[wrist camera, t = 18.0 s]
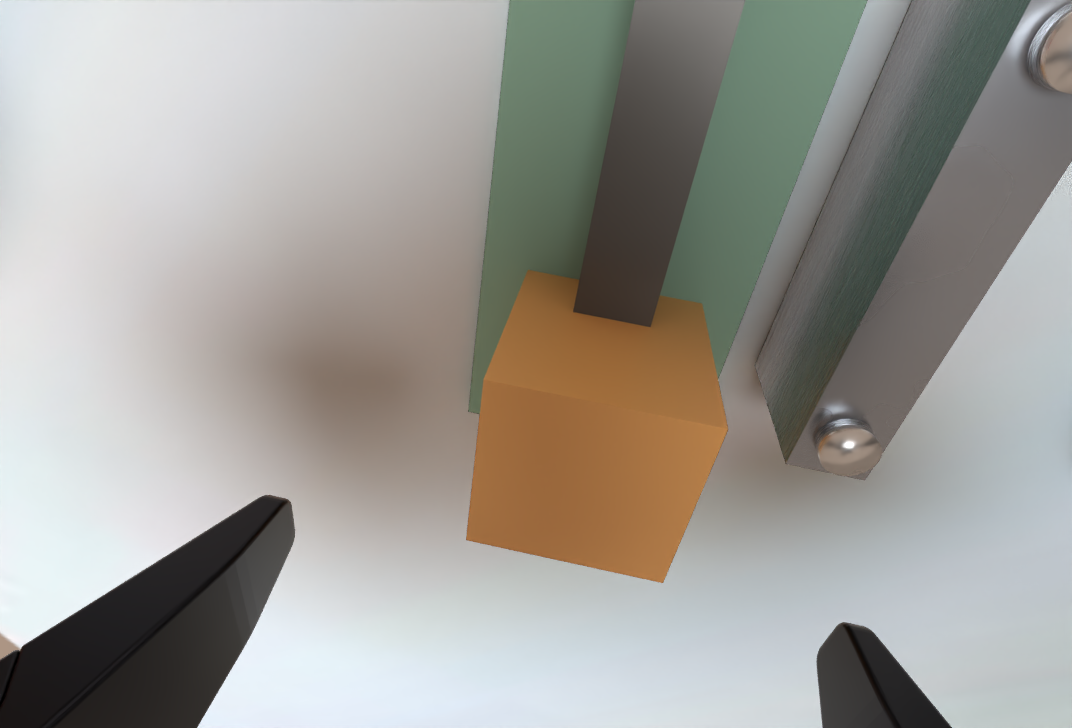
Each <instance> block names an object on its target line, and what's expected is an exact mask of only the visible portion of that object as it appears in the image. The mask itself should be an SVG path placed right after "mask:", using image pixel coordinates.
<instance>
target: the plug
mask: <svg viewBox="0 0 1072 728" xmlns="http://www.w3.org/2000/svg"><path fill="white" fill-rule="evenodd" d="M744 3H745V0H635V4H634V9H633V14H632V19H631V24H630V29H629V34H628V39H627V44H626V49H625V54H624V59H623V64H622V69H621V74H620V79H619V84H618V89H617V94H616V99H615V104H614V109H613V114H612V119H611V124H610V129H609V134H608V139H607V144H606V149H605V154H604V159H603V164H602V169H601V174H600V179H599V184H598V189H597V194H596V199H595V204H594V209H593V214H592V219H591V224H590V229H589V234H588V239H587V244H586V249H585V254H584V259H583V264H582V269H581V274H580V279H579V280H578V279H573V278H568V277H563V276H557V275H552V274H547V273H542V272H537V271H532V270H528V271H527V273H526V276H525V278H524V281H523V283H522V286H521V288H520V291H519V293H518V296H517V298H516V301H515V303H514V305H513V308H512V310H511V313H510V315H509V318H508V320H507V323H506V325H505V328H504V330H503V333H502V335H501V338H500V340H499V342H498V345H497V347H496V350H495V352H494V355H493V357H492V360H491V362H490V365H489V367H488V370H487V372H486V375H485V377H484V380H483V389H482V398H481V407H480V417H479V426H478V435H477V444H476V453H475V462H474V472H473V481H472V490H471V499H470V508H469V518H468V527H467V536H466V540H468V541H473V542H477V543H482V544H487V545H491V546H496V547H500V548H505V549H509V550H514V551H519V552H523V553H528V554H532V555H537V556H542V557H546V558H551V559H555V560H560V561H564V562H569V563H574V564H578V565H583V566H587V567H592V568H597V569H601V570H606V571H610V572H615V573H619V574H624V575H629V576H633V577H638V578H642V579H647V580H652V581H656V582H661V583H663V582H664V579H665V577H666V574H667V572H668V570H669V567H670V565H671V563H672V560H673V558H674V556H675V553H676V551H677V549H678V546H679V544H680V542H681V539H682V537H683V535H684V532H685V530H686V527H687V525H688V523H689V520H690V518H691V516H692V513H693V511H694V509H695V506H696V504H697V502H698V499H699V497H700V495H701V492H702V490H703V488H704V485H705V483H706V480H707V478H708V476H709V473H710V471H711V469H712V466H713V464H714V462H715V459H716V457H717V455H718V452H719V450H720V448H721V445H722V443H723V441H724V438H725V436H726V434H727V431H728V425H727V421H726V416H725V411H724V406H723V401H722V397H721V392H720V387H719V382H718V377H717V373H716V368H715V363H714V358H713V353H712V348H711V344H710V339H709V334H708V329H707V324H706V320H705V315H704V310H703V305H702V303H697V302H692V301H687V300H681V299H676V298H671V297H666V296H661V295H660V293H661V290H662V286H663V283H664V279H665V276H666V272H667V269H668V266H669V262H670V259H671V255H672V252H673V248H674V245H675V241H676V238H677V234H678V231H679V228H680V224H681V221H682V217H683V214H684V210H685V207H686V203H687V200H688V197H689V193H690V190H691V186H692V183H693V179H694V176H695V172H696V169H697V165H698V162H699V159H700V155H701V152H702V148H703V145H704V141H705V138H706V134H707V131H708V128H709V124H710V121H711V117H712V114H713V110H714V107H715V103H716V100H717V97H718V93H719V90H720V86H721V83H722V79H723V76H724V72H725V69H726V65H727V62H728V59H729V55H730V52H731V48H732V45H733V41H734V38H735V34H736V31H737V28H738V24H739V21H740V17H741V14H742V10H743V7H744Z"/></svg>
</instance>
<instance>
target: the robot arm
mask: <svg viewBox="0 0 1072 728" xmlns="http://www.w3.org/2000/svg"><path fill="white" fill-rule="evenodd" d="M294 538H295V527H294V519H293V512H292V505H291V502H290V501H289V500H288V499H285V498H281V497H276V496H272V495H265V496H262V497H260V498H258V499H256V500H255V501H253V502H252V503H250V504H248V505H247V506H245V507H244V508H242V509H240V510H239V511H237V512H236V513H234V514H232V515H231V516H229V517H228V518H226V519H224V520H223V521H221V522H220V523H218V524H216V525H215V526H213V527H212V528H210V529H208V530H207V531H205V532H204V533H202V534H200V535H199V536H197V537H196V538H194V539H192V540H191V541H189V542H188V543H186V544H184V545H183V546H181V547H180V548H178V549H176V550H175V551H173V552H172V553H170V554H169V555H167V556H165V557H164V558H162V559H161V560H159V561H157V562H156V563H154V564H153V565H151V566H149V567H148V568H146V569H145V570H143V571H141V572H140V573H138V574H137V575H135V576H133V577H132V578H130V579H129V580H127V581H125V582H124V583H122V584H121V585H119V586H117V587H116V588H114V589H113V590H111V591H109V592H108V593H106V594H105V595H103V596H101V597H100V598H98V599H97V600H95V601H93V602H92V603H90V604H89V605H87V606H85V607H84V608H82V609H81V610H79V611H77V612H76V613H74V614H73V615H71V616H69V617H68V618H66V619H65V620H63V621H61V622H60V623H58V624H57V625H55V626H53V627H52V628H50V629H49V630H47V631H46V632H44V633H42V634H41V635H39V636H38V637H36V638H34V639H33V640H31V641H30V642H28V643H26V644H25V645H23V646H22V648H21V650H20V651H19V650H15V651H13V652H12V653H10V654H8V655H7V656H5V657H4V658H2V659H0V728H197V727H198V725H199V723H200V722H201V720H202V718H203V717H204V715H205V713H206V711H207V710H208V708H209V706H210V705H211V703H212V701H213V700H214V698H215V696H216V694H217V693H218V691H219V689H220V688H221V686H222V684H223V683H224V681H225V679H226V677H227V676H228V674H229V672H230V671H231V669H232V667H233V665H234V664H235V662H236V660H237V659H238V657H239V655H240V654H241V652H242V650H243V648H244V647H245V645H246V643H247V641H248V639H249V638H250V636H251V634H252V632H253V630H254V628H255V626H256V624H257V622H258V620H259V617H260V615H261V613H262V611H263V609H264V606H265V604H266V602H267V600H268V598H269V595H270V593H271V591H272V589H273V587H274V585H275V582H276V580H277V578H278V576H279V574H280V571H281V569H282V567H283V565H284V563H285V560H286V558H287V556H288V554H289V552H290V549H291V547H292V545H293V542H294ZM817 674H818V684H819V695H820V705H821V716H822V727H823V728H952V727H951V726H950V725H949V723H948V722H947V721H946V720H945V719H944V717H943V716H942V715H941V714H940V713H939V711H938V710H937V709H936V708H935V706H934V705H933V704H932V703H931V702H930V700H929V699H928V698H927V697H926V696H925V694H924V693H923V692H922V691H921V689H920V688H919V687H918V686H917V685H916V683H915V682H914V681H913V680H912V678H911V677H910V676H909V675H908V674H907V672H906V671H905V670H904V669H903V668H902V666H901V665H900V664H899V663H898V661H897V660H896V659H895V658H894V657H893V655H892V654H891V653H890V652H889V651H888V649H887V648H886V647H885V646H884V644H883V643H882V642H881V641H880V640H879V638H878V637H877V636H876V635H875V634H874V633H873V632H872V631H871V630H870V629H868V628H867V627H864V626H860V625H855V624H851V623H846V622H843V623H840V624H838V625H837V626H836V628H835V629H834V630H833V632H832V633H831V634H830V636H829V637H828V638H827V639H826V641H825V642H824V643H823V645H822V646H821V647H820V649H819V652H818V655H817Z"/></svg>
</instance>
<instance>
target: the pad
mask: <svg viewBox="0 0 1072 728" xmlns="http://www.w3.org/2000/svg"><path fill="white" fill-rule="evenodd" d="M867 1H868V0H745V3H744V7H743V10H742V14H741V17H740V21H739V24H738V28H737V31H736V34H735V38H734V41H733V45H732V48H731V52H730V55H729V59H728V62H727V65H726V69H725V72H724V76H723V79H722V83H721V86H720V90H719V93H718V97H717V100H716V103H715V107H714V110H713V114H712V117H711V121H710V124H709V128H708V131H707V134H706V138H705V141H704V145H703V148H702V152H701V155H700V159H699V162H698V165H697V169H696V172H695V176H694V179H693V183H692V186H691V190H690V193H689V197H688V200H687V203H686V207H685V210H684V214H683V217H682V221H681V224H680V228H679V231H678V234H677V238H676V241H675V245H674V248H673V252H672V255H671V259H670V262H669V266H668V269H667V272H666V276H665V279H664V283H663V286H662V290H661V293H660V295H661V296H666V297H671V298H676V299H681V300H687V301H692V302H697V303H702V305H703V310H704V315H705V320H706V324H707V329H708V334H709V339H710V344H711V348H712V353H713V358H714V363H715V368H716V373H717V377H718V378H719V376H720V373H721V371H722V368H723V366H724V363H725V360H726V358H727V355H728V353H729V350H730V348H731V345H732V343H733V340H734V338H735V335H736V333H737V330H738V328H739V325H740V322H741V320H742V317H743V315H744V312H745V310H746V307H747V305H748V302H749V300H750V297H751V295H752V292H753V290H754V287H755V284H756V282H757V279H758V277H759V274H760V272H761V269H762V267H763V264H764V262H765V259H766V257H767V254H768V252H769V249H770V246H771V244H772V241H773V239H774V236H775V234H776V231H777V229H778V226H779V224H780V221H781V219H782V216H783V213H784V211H785V208H786V206H787V203H788V201H789V198H790V196H791V193H792V191H793V188H794V186H795V183H796V181H797V178H798V175H799V173H800V170H801V168H802V165H803V163H804V160H805V158H806V155H807V153H808V150H809V148H810V145H811V143H812V140H813V137H814V135H815V132H816V130H817V127H818V125H819V122H820V120H821V117H822V115H823V112H824V110H825V107H826V105H827V102H828V99H829V97H830V94H831V92H832V89H833V87H834V84H835V82H836V79H837V77H838V74H839V72H840V69H841V67H842V64H843V61H844V59H845V56H846V54H847V51H848V49H849V46H850V44H851V41H852V39H853V36H854V34H855V31H856V29H857V26H858V23H859V21H860V18H861V16H862V13H863V11H864V8H865V6H866V3H867ZM634 4H635V0H510V3H509V13H508V23H507V33H506V43H505V53H504V63H503V73H502V82H501V92H500V102H499V112H498V122H497V132H496V142H495V152H494V162H493V172H492V182H491V192H490V202H489V212H488V221H487V231H486V241H485V251H484V261H483V271H482V281H481V291H480V301H479V311H478V321H477V331H476V341H475V350H474V360H473V370H472V380H471V390H470V400H469V410H468V412H473V413H478V414H480V407H481V398H482V389H483V380H484V377H485V375H486V372H487V370H488V367H489V365H490V362H491V360H492V357H493V355H494V352H495V350H496V347H497V345H498V342H499V340H500V338H501V335H502V333H503V330H504V328H505V325H506V323H507V320H508V318H509V315H510V313H511V310H512V308H513V305H514V303H515V301H516V298H517V296H518V293H519V291H520V288H521V286H522V283H523V281H524V278H525V276H526V273H527V271H528V270H532V271H537V272H542V273H547V274H552V275H557V276H563V277H568V278H573V279H578V280H579V279H580V274H581V269H582V264H583V259H584V254H585V249H586V244H587V239H588V234H589V229H590V224H591V219H592V214H593V209H594V204H595V199H596V194H597V189H598V184H599V179H600V174H601V169H602V164H603V159H604V154H605V149H606V144H607V139H608V134H609V129H610V124H611V119H612V114H613V109H614V104H615V99H616V94H617V89H618V84H619V79H620V74H621V69H622V64H623V59H624V54H625V49H626V44H627V39H628V34H629V29H630V24H631V19H632V14H633V9H634Z"/></svg>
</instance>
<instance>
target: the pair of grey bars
mask: <svg viewBox="0 0 1072 728" xmlns="http://www.w3.org/2000/svg"><path fill="white" fill-rule="evenodd" d="M1071 161H1072V0H912V2H911V5H910V7H909V9H908V12H907V14H906V16H905V19H904V21H903V23H902V26H901V28H900V30H899V33H898V35H897V37H896V40H895V42H894V44H893V46H892V49H891V51H890V53H889V56H888V58H887V60H886V63H885V65H884V67H883V70H882V72H881V74H880V77H879V79H878V81H877V84H876V86H875V88H874V91H873V93H872V95H871V97H870V100H869V102H868V104H867V107H866V109H865V111H864V114H863V116H862V118H861V121H860V123H859V125H858V128H857V130H856V132H855V135H854V137H853V139H852V142H851V144H850V146H849V148H848V151H847V153H846V155H845V158H844V160H843V162H842V165H841V167H840V169H839V172H838V174H837V176H836V179H835V181H834V183H833V186H832V188H831V190H830V193H829V195H828V197H827V199H826V202H825V204H824V206H823V209H822V211H821V213H820V216H819V218H818V220H817V223H816V225H815V227H814V230H813V232H812V234H811V237H810V239H809V241H808V244H807V246H806V248H805V250H804V253H803V255H802V257H801V260H800V262H799V264H798V267H797V269H796V271H795V274H794V276H793V278H792V281H791V283H790V285H789V288H788V290H787V292H786V295H785V297H784V299H783V301H782V304H781V306H780V308H779V311H778V313H777V315H776V318H775V320H774V322H773V325H772V327H771V329H770V332H769V334H768V336H767V339H766V341H765V343H764V346H763V348H762V350H761V352H760V355H759V357H758V359H757V362H756V364H755V367H756V371H757V374H758V377H759V380H760V383H761V386H762V390H763V393H764V396H765V399H766V402H767V405H768V409H769V412H770V415H771V418H772V421H773V424H774V428H775V431H776V434H777V437H778V440H779V443H780V447H781V450H782V453H783V456H784V459H785V462H786V464H790V465H795V466H799V467H804V468H809V469H814V470H819V471H823V472H828V473H833V474H835V475H840V476H847V477H852V478H857V479H861V480H865V479H866V478H867V476H868V475H869V473H870V472H871V470H872V468H873V467H874V466H875V465H876V464H877V463H878V462H879V460H880V458H881V455H882V453H883V451H884V450H885V448H886V447H887V445H888V444H889V442H890V441H891V439H892V438H893V436H894V435H895V433H896V431H897V430H898V428H899V427H900V425H901V424H902V422H903V421H904V419H905V418H906V416H907V414H908V413H909V411H910V410H911V408H912V407H913V405H914V404H915V402H916V401H917V399H918V397H919V396H920V394H921V393H922V391H923V390H924V388H925V387H926V385H927V384H928V382H929V380H930V379H931V377H932V376H933V374H934V373H935V371H936V370H937V368H938V367H939V365H940V363H941V362H942V360H943V359H944V357H945V356H946V354H947V353H948V351H949V350H950V348H951V346H952V345H953V343H954V342H955V340H956V339H957V337H958V336H959V334H960V333H961V331H962V330H963V328H964V326H965V325H966V323H967V322H968V320H969V319H970V317H971V316H972V314H973V313H974V311H975V309H976V308H977V306H978V305H979V303H980V302H981V300H982V299H983V297H984V296H985V294H986V292H987V291H988V289H989V288H990V286H991V285H992V283H993V282H994V280H995V279H996V277H997V275H998V274H999V272H1000V271H1001V269H1002V268H1003V266H1004V265H1005V263H1006V262H1007V260H1008V258H1009V257H1010V255H1011V254H1012V252H1013V251H1014V249H1015V248H1016V246H1017V245H1018V243H1019V242H1020V240H1021V238H1022V237H1023V235H1024V234H1025V232H1026V231H1027V229H1028V228H1029V226H1030V225H1031V223H1032V221H1033V220H1034V218H1035V217H1036V215H1037V214H1038V212H1039V211H1040V209H1041V208H1042V206H1043V204H1044V203H1045V201H1046V200H1047V198H1048V197H1049V195H1050V194H1051V192H1052V191H1053V189H1054V187H1055V186H1056V184H1057V183H1058V181H1059V180H1060V178H1061V177H1062V175H1063V174H1064V172H1065V170H1066V169H1067V167H1068V166H1069V164H1070V163H1071Z"/></svg>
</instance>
